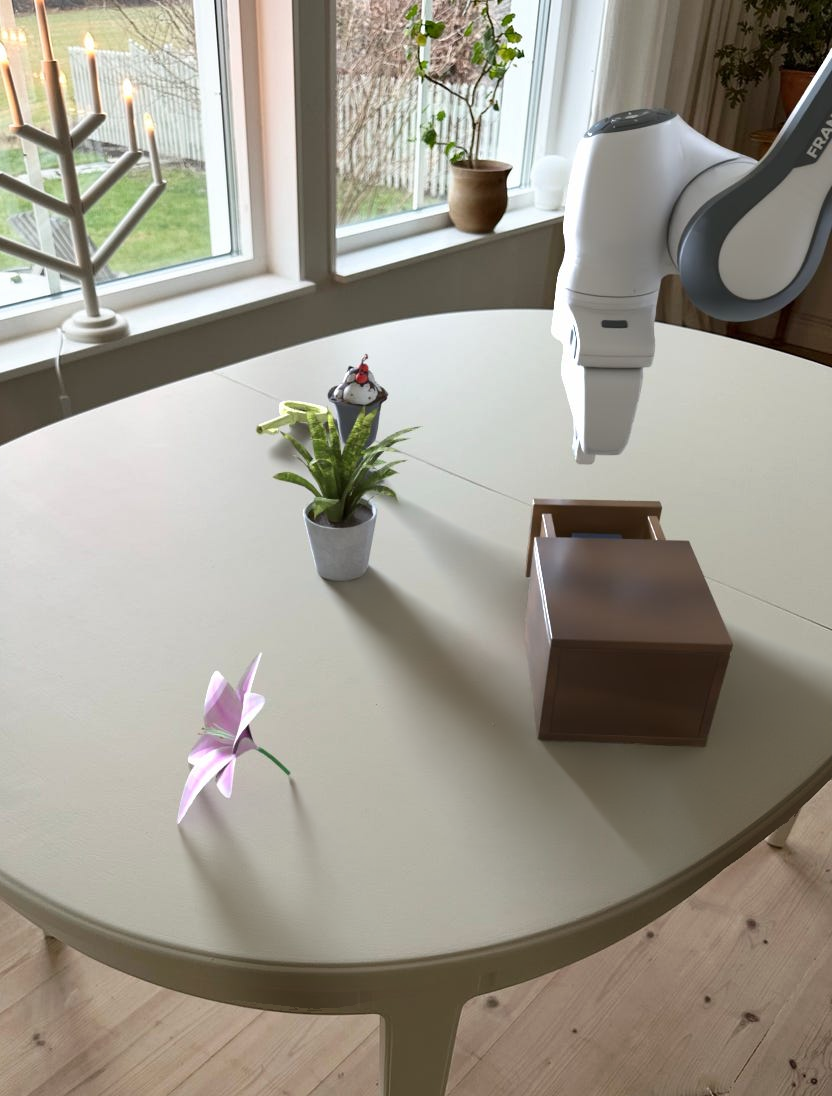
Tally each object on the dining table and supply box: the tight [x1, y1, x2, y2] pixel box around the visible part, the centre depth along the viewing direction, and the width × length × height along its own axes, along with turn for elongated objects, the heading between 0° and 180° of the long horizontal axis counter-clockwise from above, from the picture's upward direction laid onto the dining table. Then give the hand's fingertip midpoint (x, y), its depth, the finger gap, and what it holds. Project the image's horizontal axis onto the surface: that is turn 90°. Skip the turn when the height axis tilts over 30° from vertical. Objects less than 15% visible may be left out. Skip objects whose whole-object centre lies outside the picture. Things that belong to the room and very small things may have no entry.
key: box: [255, 400, 328, 436], centre depth 121 cm, size 7×12×2 cm, turn 165°
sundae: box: [326, 353, 389, 486], centre depth 106 cm, size 7×7×15 cm
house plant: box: [270, 405, 423, 582], centre depth 88 cm, size 14×14×16 cm
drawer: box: [524, 498, 667, 579], centre depth 85 cm, size 18×11×8 cm, turn 176°
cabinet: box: [523, 537, 734, 747], centre depth 76 cm, size 15×13×10 cm
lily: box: [176, 652, 291, 825], centre depth 68 cm, size 12×12×10 cm
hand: (582, 458), depth 94 cm, fingers closed
